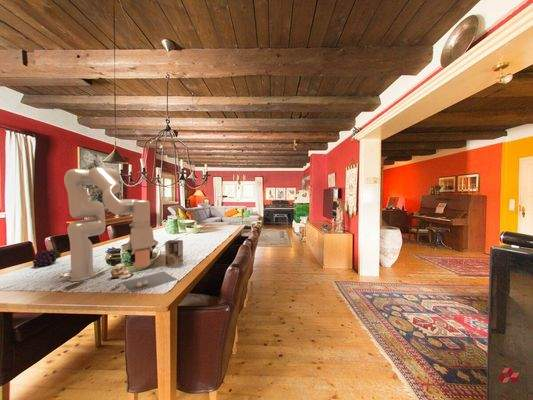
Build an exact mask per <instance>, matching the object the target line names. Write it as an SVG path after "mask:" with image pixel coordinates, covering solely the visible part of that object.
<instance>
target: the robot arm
mask: <svg viewBox="0 0 533 400" xmlns="http://www.w3.org/2000/svg"><path fill="white" fill-rule="evenodd" d="M63 180H64V181H63V182H64V186H65V189H66V192H67V197H68V198H67V199H68V210H69V215H70V216H71V218H73V219H83V220H76V221H73V222H71V223H69V224H68V226H67V228H66V231H67V235H68V239H69V248H70V249H69V250H70V251H69V252H70V269H69V271H68V272H66V273H59V278H60V279H61V278H63V279H64V278H67V281H68V280H69V281H68V282H80V281H84V280H85V281H86V280H88V279H92V278H95V277H96V276H97V272H96V271H95V270H94V258H93V257H94V255H93V253H94V250H93V247H94V246H93V242H92V241H91V240H90V239H89V237H94V236H99V235H102V234H103V233H105V231H106V224H107V223H106V212H105V208H107V209H108V210H109V212H111V213H112V214H113V215H116V216H125V215H132V221H131V223H129V227H131V228H130V234H129V240H128V242H127V243H126V244H125V245H123V246H122V249H124V251H126V252H127V253H128V254H129V256H130V257H129V258H130V259H129V260H130V261H131V263H132V264H133V263H134V262H135V254H134V252H135V250H136V249H141V248H149V250H150V260H152V257H153V251H154V250H155V248H157V246H158V244H159V241H158V240H156V239H154V232H153V231H154V230H153V227H152V226H151V203H150V201H149V200H147V199H136V198H130V199H129V198H127V199H126V198H125V199H119V198H117V196H115V195H116V194H118V193H119V192H120V190H121V188H122V185H121V184H120V180H121V173H120V172H119V171H118V170H117V169H115V168H111V167H102V166H95V167H92V168H91V169H88V168H72V169H69V170H67V171H66V172H65V174H64V177H63ZM83 185H86V186H97V188H99V190H100V191H101V192H102V195H101V196H102V202H103V203H102V202H101V201H98V200H90V199H89V192H88V191H87V189H86V188H85V187H84V186H83ZM84 218H85V219H84ZM86 218H90V219H86ZM128 247H129V248H130V249H129V248H128Z"/></svg>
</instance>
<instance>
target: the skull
mask: <svg viewBox="0 0 533 400" xmlns="http://www.w3.org/2000/svg"><path fill="white" fill-rule="evenodd" d="M110 274H111V276H112V277H109V278H108V279H107V281H110V282H111V281H114V280H118V279H120V281H123V280H126V279H129V278H131V277H133V276H134V273H133V272H130V270H129V268H128V267H127V265H125V264H123V263H118V264H115V265H114V266H113V267H112V268H111V270H110Z"/></svg>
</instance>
